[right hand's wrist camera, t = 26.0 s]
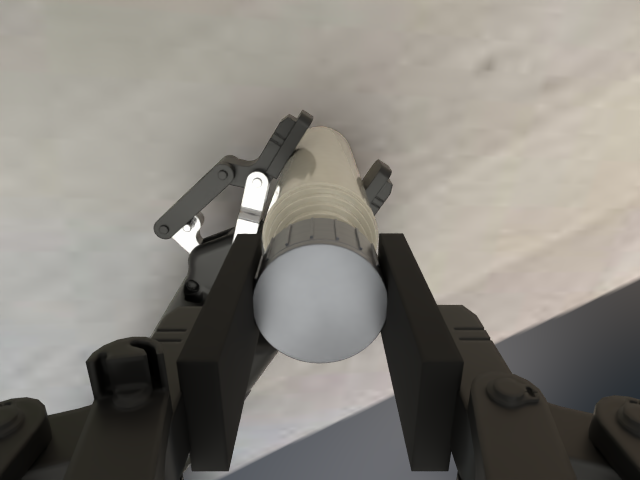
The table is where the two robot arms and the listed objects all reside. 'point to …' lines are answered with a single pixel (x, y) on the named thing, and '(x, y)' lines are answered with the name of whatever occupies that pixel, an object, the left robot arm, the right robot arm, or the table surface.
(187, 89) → the table surface
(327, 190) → the bottle
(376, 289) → the cap
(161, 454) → the right robot arm
